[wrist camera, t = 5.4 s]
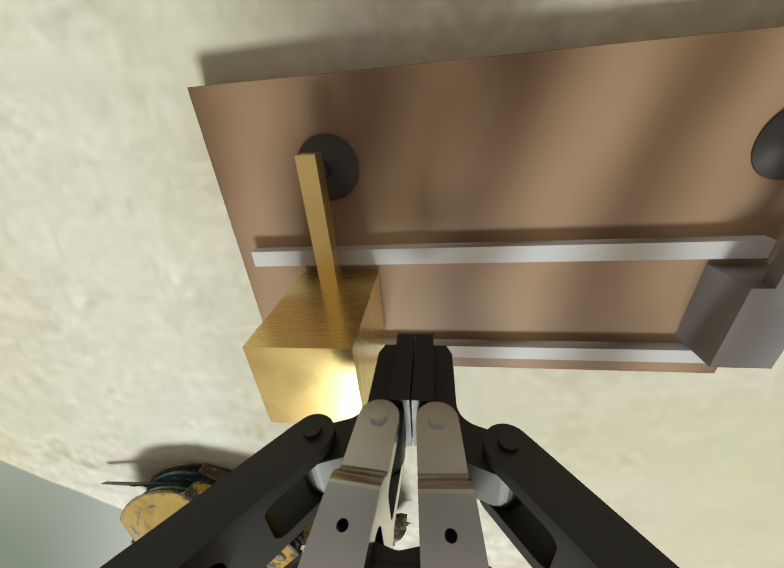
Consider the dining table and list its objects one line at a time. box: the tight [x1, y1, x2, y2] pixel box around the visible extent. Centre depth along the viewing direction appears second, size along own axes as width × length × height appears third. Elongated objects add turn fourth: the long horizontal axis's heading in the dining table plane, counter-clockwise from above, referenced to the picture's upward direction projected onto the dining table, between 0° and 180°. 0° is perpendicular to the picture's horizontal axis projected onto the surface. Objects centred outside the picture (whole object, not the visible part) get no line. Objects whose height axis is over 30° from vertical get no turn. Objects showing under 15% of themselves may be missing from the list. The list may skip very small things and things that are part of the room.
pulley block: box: [101, 463, 411, 568], centre depth 30 cm, size 14×6×30 cm
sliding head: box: [243, 152, 385, 424], centre depth 13 cm, size 4×10×6 cm, turn 4°
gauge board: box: [188, 27, 784, 373], centre depth 14 cm, size 25×15×4 cm, turn 94°
